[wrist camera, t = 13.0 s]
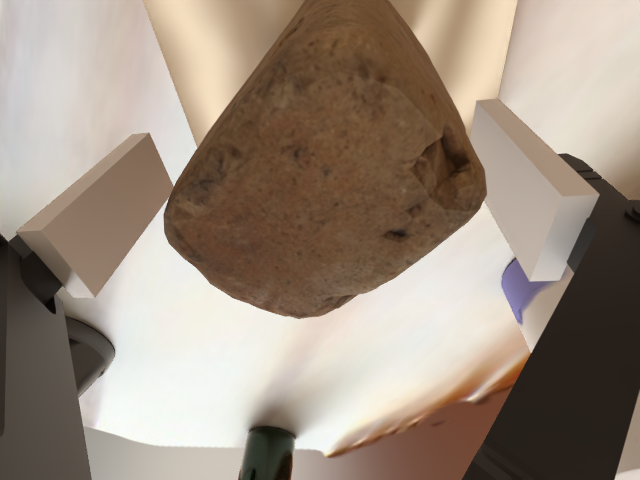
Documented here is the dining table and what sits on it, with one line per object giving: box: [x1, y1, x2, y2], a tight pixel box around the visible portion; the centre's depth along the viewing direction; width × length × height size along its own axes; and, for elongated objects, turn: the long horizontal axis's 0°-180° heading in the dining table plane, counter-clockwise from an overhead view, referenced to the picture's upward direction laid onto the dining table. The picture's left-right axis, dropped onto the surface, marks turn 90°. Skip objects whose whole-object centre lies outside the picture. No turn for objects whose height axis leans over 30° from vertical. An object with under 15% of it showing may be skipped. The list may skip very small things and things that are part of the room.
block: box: [164, 0, 487, 319], centre depth 17 cm, size 11×8×20 cm
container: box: [502, 259, 640, 480], centre depth 30 cm, size 10×10×20 cm
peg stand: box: [143, 0, 518, 148], centre depth 24 cm, size 24×24×5 cm
